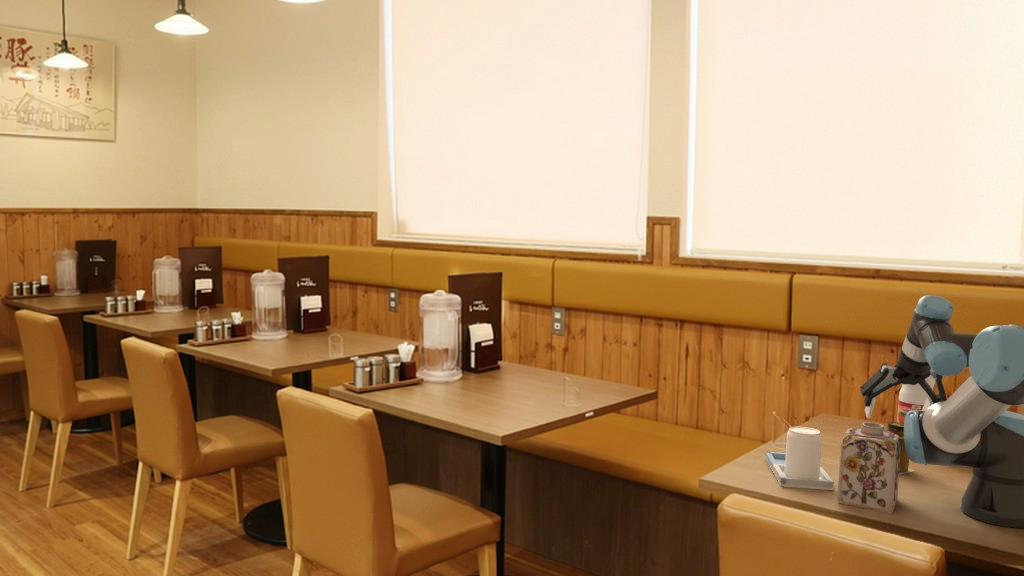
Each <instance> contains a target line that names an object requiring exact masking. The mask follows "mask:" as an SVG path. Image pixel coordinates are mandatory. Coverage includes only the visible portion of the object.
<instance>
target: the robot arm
mask: <svg viewBox="0 0 1024 576" xmlns="http://www.w3.org/2000/svg"><path fill="white" fill-rule="evenodd" d="M953 311H954V306H953V304H952V303H951V302H950V301H949V300H948V299H946V298H945V297H943V296H938V295H931V294H930V295H929V294H928V295H924V296H922V297H921V298H919V299H918V302H917V304H916V307H915V308H914V309H913V313H912V317H911V320H910V324H909V326H908V328H907V329H908V330H907V331H906V335H905V339H904V341H903V343H902V347H901V350H900V352H899V355H898V357H897V362H896V364H895V365H894V366H889V365H888V364H887V363H885V362H884V363H883V362H882V364H881V365H880V368H879V369H878V370H877V371H876V372H875V373H874V374H873V375H872V376H870V378H868V380H867V381H865V382H864V383H863V384H862V385H861V386H860V388H859V389H860V393H861V395H862V396H863V397H865V398H864V406H865V408H864V413H865V416H866V418H867V419H871V416H872V414H873V410H874V407H875V404H876V402H877V396H879V395H881V394H882V393H885V392H886V391H888V390H889V389H891V388H893V387H897V386H900V385H902V384H910V385H916V384H918V383H919V384H920V386H921V387H922V388H923V389H924V390H925V392H926V393H927V394H928V396H929V397H927V399H926V401H925V404H924V406H923V409H922V411H918V410H912V411H908V412H907V414H906V416H905V421H904V441H905V448H906V452H907V455H908V457H909V461H911V462H912V463H915V464H920V465H924V466H928V465H931V466H932V465H933V466H945V467H962V468H963V467H964V468H972V475H971V478H970V481H969V482H968V485H966V489H965V491H964V493H963V495H962V497H961V499H960V500H961V501H960V510H961V512H962V513H963V514H965V515H966V516H969V517H971V518H972V519H975V520H978V521H981V522H984V523H987V524H992V525H996V526H997V525H998V526H1000V527H1007V528H1008V527H1009V528H1020V529H1024V414H1020V413H1017V412H1013V411H1009V410H1008V409H1009V408H1010V407H1014V406H1015V407H1019V406H1023V405H1024V326H1021V325H1020V326H1019V325H1017V324H1003V325H990V326H988V327H985V328H983V329H982V330H981V331H979V332H978V333H963V332H961V333H958V332H955V331H954V328H953V326H952V323H951V318H953ZM966 368H968V370H969V373H970V376H969V377H968V378H967V379H966V380H965V381H964V382H963V383H962V384H961V385H960V386H958V388H957V389H956V390H955V391H954V392H953V393H952V394H951V395H950V396H949V397H948V398H947V394H946V390H945V387H944V384H943V377H951V376H954V375H959V374H960V373H962V372H963V371H964V370H965V369H966ZM931 369H932V370H931ZM930 375H932V377H933V378H934V379H935V385H936V388H937V391H938V394H936V393H935V391H934V389H933V390H932V388H931V387H930V386H929V384H928V383H927V382H926V380H925V379H926V378H928V377H929V376H930ZM941 401H942V402H941Z"/></svg>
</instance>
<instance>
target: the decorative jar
mask: <svg viewBox="0 0 1024 576" xmlns="http://www.w3.org/2000/svg"><path fill="white" fill-rule="evenodd" d="M884 429H885V426H884V425H883V424H881V423H877V422H872V421H871V422H869V421H864V422H862V423H861V427H859V426H858V427H850V428H847V429H845V431H844V432H845V433H844V435H843V438H842V442H841V446H840V457H839V468H838V469H839V471H838V482H837V483H838V484H837V494H836V495H837V497H836V499H837V500H836V501H837V503H838V504H840V505H845V506H849V507H850V506H851V507H857V508H861V509H865V510H870V511H871V510H872V511H876V512H877V511H878V512H881V513H887V514H892V513H893V510H894V509H895V507H896V504H897V501H898V495H899V481H900V475H899V469H900V448H901V440H900V438H899V436H898V435H896V434H894V433H892V432H890V431H887V429H885V430H884Z"/></svg>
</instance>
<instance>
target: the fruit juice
mask: <svg viewBox="0 0 1024 576" xmlns="http://www.w3.org/2000/svg"><path fill="white" fill-rule="evenodd" d="M931 370H932V369H931ZM925 380H926V382H927V383H928V384H929V386H930V387H931V388H932V390H933V391H934V386H935V385H936V382H935V379H934V378H933V377H932V375H930V376H929V377H928V378H926V379H925ZM927 397H929V396H928V394H927V393H926V392H925V390H924V389H923V388H922V387H921V386H920V384H919V383H918V384H916V385H910V384H902V383H901V388H900V390H899V393H898V405H897V419H896V422H900V423H904V421H905V416H906V414H907V412H908V411H912V410H918V411H922V409H923V406H924V404H925V401H926V398H927Z"/></svg>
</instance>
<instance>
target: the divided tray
mask: <svg viewBox="0 0 1024 576" xmlns="http://www.w3.org/2000/svg"><path fill="white" fill-rule="evenodd" d="M764 454H765V455H764V459H765V458H766V460H767V462H768V463H769V465H770V467H771V469H772V470H771V469H770V470H771V472H772V471H773V472H772V474H773V473H774V474H775V476H776V477H775V476H774V477H775V479H776V478H777V479H776V481H777V480H778V481H777V482H778V484H779V486H780V487H782V486H784V487H783V488H785V487H786V488H796V489H797V488H799V489H810V490H826V491H834V480H833V479H832V478H831V477H830V476H829V474H828V472H826V471H825V468H824V467H822V465H821V464H820V477H819V479H806V478H792V477H787V476H786V475H785V457H786V452H778V451H765V453H764ZM766 460H765V461H766ZM767 462H766V463H767ZM768 463H767V464H768ZM769 465H768V466H769ZM770 467H769V468H770ZM774 474H773V475H774Z"/></svg>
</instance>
